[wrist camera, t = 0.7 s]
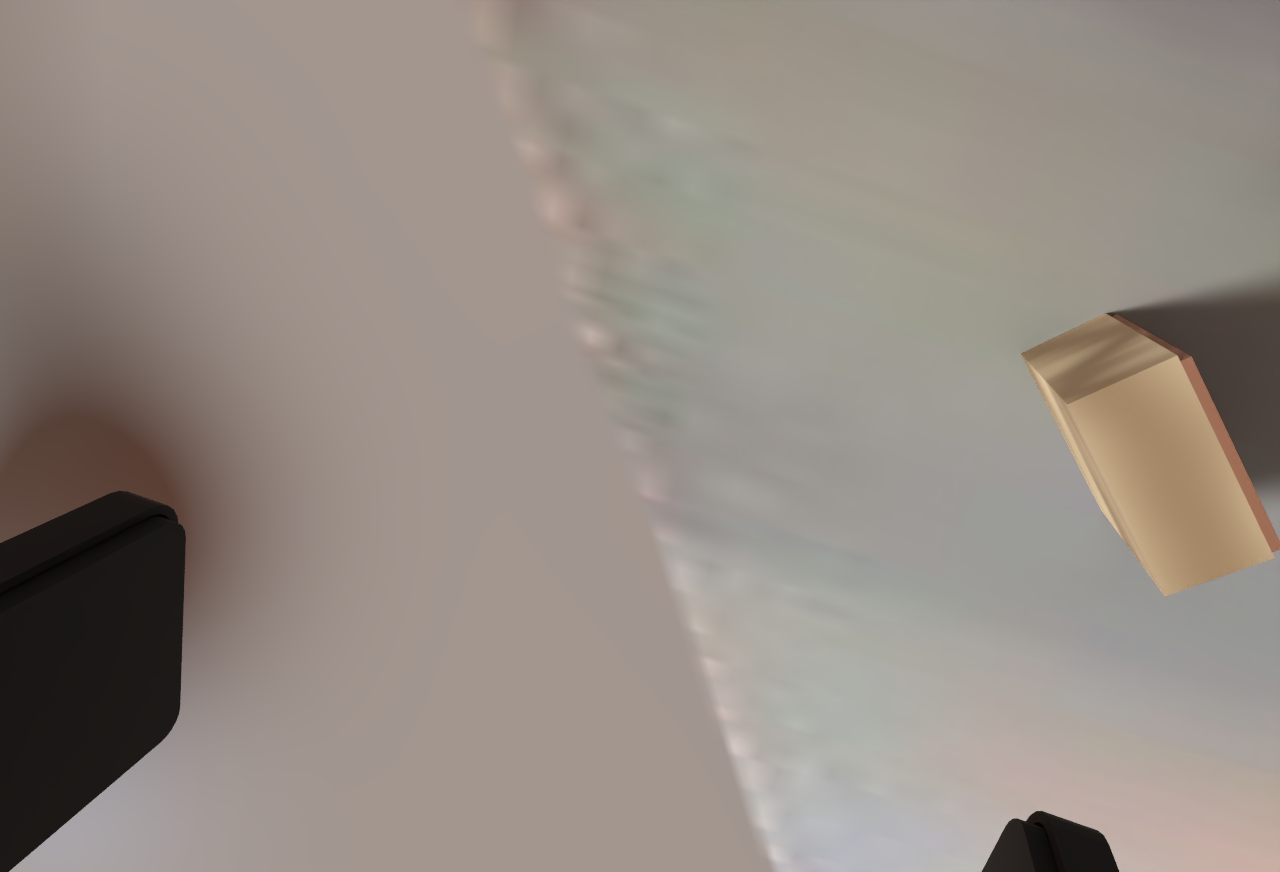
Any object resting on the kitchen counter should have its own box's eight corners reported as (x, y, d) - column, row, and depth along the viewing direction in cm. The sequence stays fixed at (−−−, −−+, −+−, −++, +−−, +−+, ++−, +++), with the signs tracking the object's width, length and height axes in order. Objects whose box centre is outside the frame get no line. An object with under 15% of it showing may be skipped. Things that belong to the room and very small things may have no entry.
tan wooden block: (1114, 308, 30) (1188, 350, 23) (1193, 471, 31) (1285, 553, 24) (1020, 353, 31) (1067, 404, 24) (1100, 508, 32) (1164, 596, 26)
